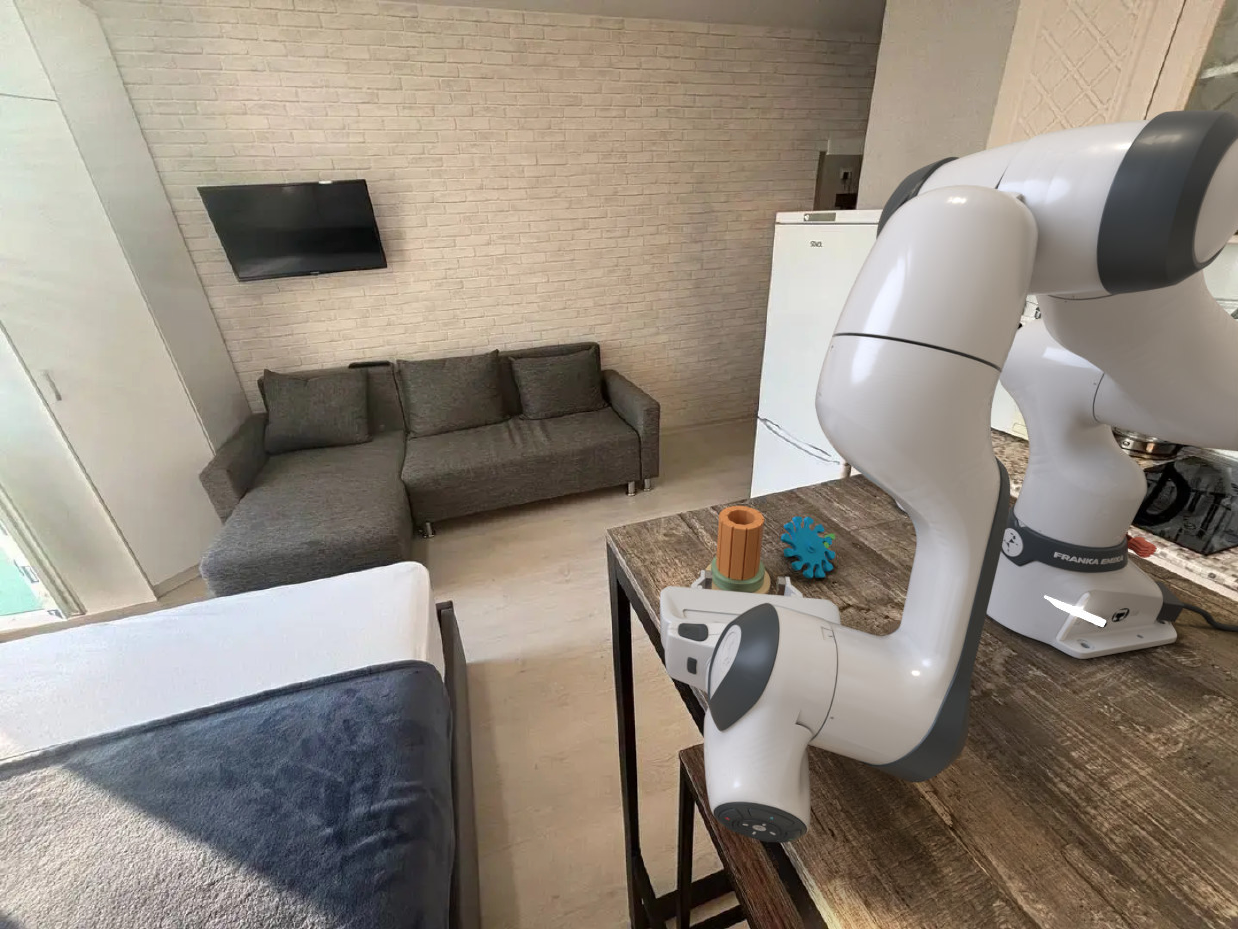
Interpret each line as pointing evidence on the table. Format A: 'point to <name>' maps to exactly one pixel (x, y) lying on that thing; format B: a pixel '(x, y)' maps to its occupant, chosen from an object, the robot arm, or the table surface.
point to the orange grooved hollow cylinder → (739, 542)
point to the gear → (808, 547)
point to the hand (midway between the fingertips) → (744, 577)
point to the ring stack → (740, 581)
